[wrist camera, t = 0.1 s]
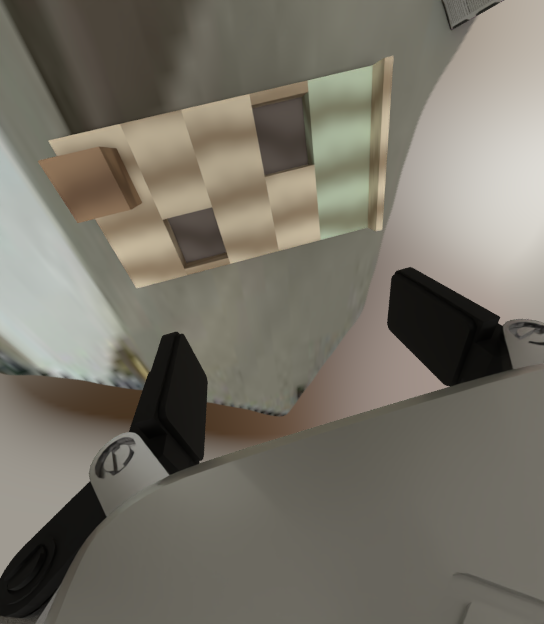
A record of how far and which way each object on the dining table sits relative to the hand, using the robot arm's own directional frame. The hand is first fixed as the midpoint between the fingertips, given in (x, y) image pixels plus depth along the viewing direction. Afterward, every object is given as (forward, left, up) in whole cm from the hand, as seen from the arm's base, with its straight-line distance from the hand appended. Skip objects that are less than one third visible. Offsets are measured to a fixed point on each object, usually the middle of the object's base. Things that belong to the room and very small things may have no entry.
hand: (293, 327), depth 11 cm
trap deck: (-3, 0, -31) cm, 31 cm away
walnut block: (-7, -15, -28) cm, 33 cm away
